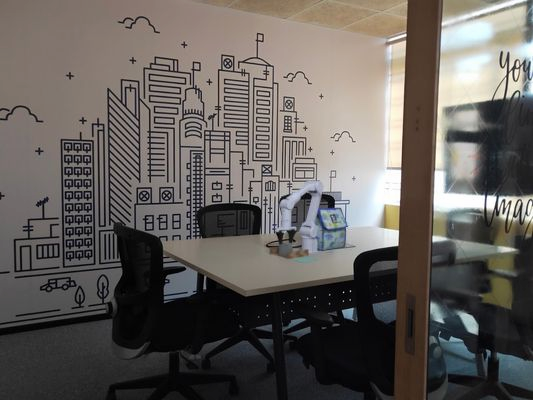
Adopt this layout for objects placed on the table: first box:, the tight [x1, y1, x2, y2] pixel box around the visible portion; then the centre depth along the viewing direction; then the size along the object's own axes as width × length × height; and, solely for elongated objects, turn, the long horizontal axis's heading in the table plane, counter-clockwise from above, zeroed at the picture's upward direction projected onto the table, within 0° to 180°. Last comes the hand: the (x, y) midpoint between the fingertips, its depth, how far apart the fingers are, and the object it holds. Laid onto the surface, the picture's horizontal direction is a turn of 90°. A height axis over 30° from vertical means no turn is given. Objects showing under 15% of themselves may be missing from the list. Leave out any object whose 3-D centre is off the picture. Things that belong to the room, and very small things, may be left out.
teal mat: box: [291, 256, 319, 263], centre depth 248 cm, size 12×9×1 cm
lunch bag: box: [315, 207, 348, 252], centre depth 285 cm, size 22×17×26 cm
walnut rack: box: [269, 246, 310, 260], centre depth 259 cm, size 16×16×4 cm
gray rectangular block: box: [278, 241, 293, 256], centre depth 257 cm, size 4×8×8 cm, turn 39°
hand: (285, 243), depth 257 cm, fingers open, 7 cm apart
